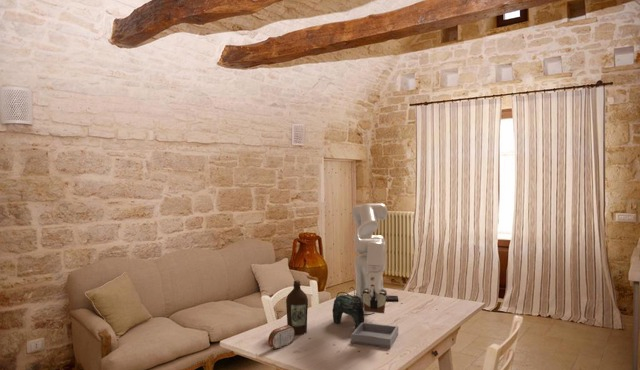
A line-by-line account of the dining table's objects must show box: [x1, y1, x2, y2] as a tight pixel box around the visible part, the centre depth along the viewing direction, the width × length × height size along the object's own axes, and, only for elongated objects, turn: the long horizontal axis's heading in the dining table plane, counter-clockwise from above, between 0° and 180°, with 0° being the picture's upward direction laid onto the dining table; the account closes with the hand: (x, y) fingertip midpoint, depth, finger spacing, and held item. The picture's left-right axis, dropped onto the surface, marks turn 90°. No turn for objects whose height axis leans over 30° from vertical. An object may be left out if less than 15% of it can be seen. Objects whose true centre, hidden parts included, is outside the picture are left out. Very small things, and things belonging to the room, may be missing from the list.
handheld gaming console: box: [386, 294, 399, 303], centre depth 279 cm, size 9×12×10 cm
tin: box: [267, 324, 296, 350], centre depth 204 cm, size 15×3×8 cm, turn 141°
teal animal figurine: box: [332, 286, 365, 329], centre depth 230 cm, size 20×6×20 cm, turn 47°
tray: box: [350, 322, 399, 349], centre depth 212 cm, size 18×18×4 cm
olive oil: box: [285, 279, 309, 336], centre depth 222 cm, size 11×11×25 cm
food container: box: [361, 288, 388, 314], centre depth 212 cm, size 12×6×10 cm, turn 71°
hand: (375, 306), depth 212 cm, fingers closed on food container, 5 cm apart
